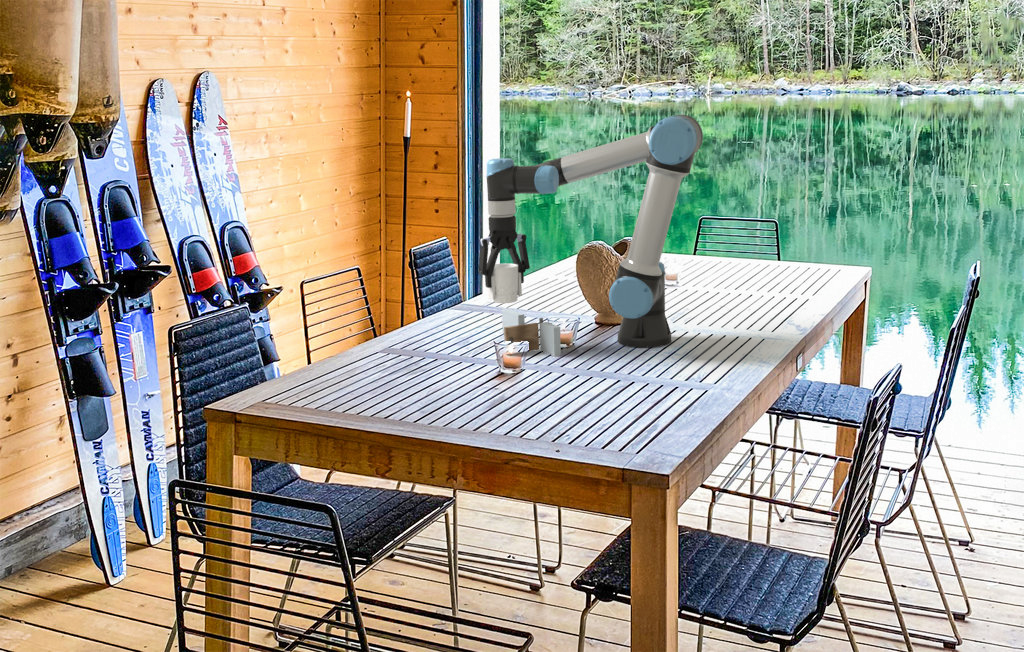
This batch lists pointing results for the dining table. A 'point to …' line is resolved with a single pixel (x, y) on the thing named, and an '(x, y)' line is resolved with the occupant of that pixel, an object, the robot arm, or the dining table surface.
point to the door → (523, 334)
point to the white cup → (506, 282)
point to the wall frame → (547, 331)
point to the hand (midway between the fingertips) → (505, 296)
